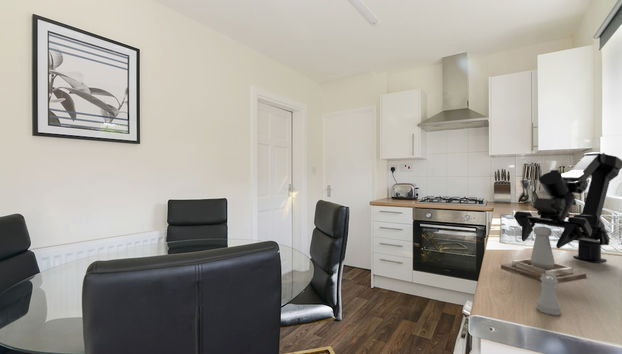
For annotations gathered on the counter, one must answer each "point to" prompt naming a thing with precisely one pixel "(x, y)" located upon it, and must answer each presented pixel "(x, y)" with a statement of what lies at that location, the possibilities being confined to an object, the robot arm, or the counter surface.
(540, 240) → the salt shaker
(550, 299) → the rook chess piece
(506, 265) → the collar board
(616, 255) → the counter surface
